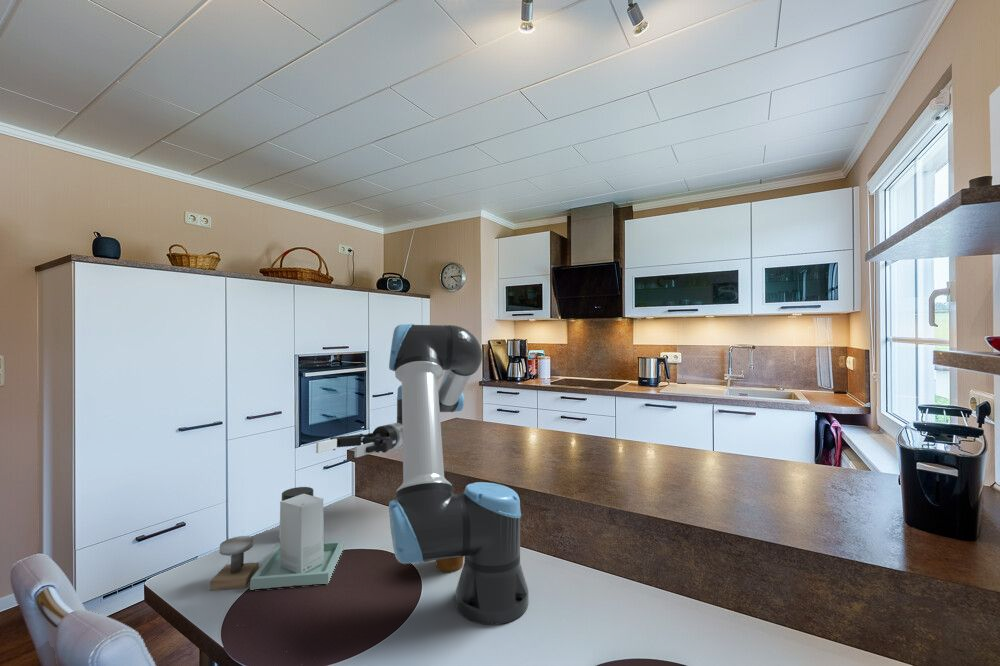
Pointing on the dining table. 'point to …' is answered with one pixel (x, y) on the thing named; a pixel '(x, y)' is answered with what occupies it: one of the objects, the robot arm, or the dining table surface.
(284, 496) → the jar
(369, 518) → the dining table surface
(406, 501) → the robot arm
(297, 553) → the skincare box
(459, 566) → the disposable coffee cup
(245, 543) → the mushroom shaped stand
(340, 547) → the tray
